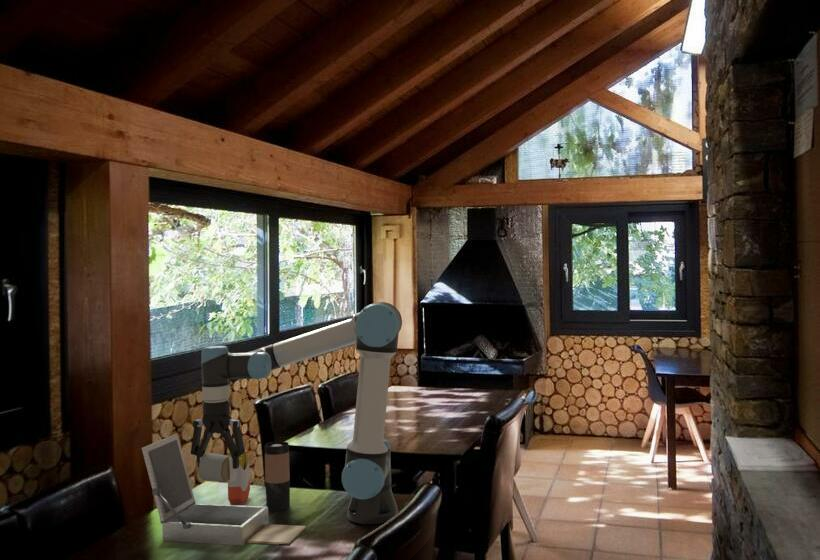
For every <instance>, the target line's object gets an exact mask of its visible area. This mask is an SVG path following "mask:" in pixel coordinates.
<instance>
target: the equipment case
mask: <svg viewBox="0 0 820 560" xmlns="http://www.w3.org/2000/svg"><path fill="white" fill-rule="evenodd" d="M180 442H181V441H180V440H179V436H178V433H176V434H172V435H170V436H168V437H166V438H165V437H164V438H163V439H160V440H157V441H155V442H153V443H151V444H148V445H146V446H143V447H141V451H142V455H143V459H144V463H145V466H146V470H147V473H148V479H149V481H150V486H151V489H152V491H151V492H152V496H154V501H155V505H156V508H157V512H158V515H159V520H160V521H159V522H160V524H161V527H162V541H163V542H179V543H195V544H197V543H199V544H214V545H229V546H231V545H232V546H244V545H246V544H247V543H248V540H249V539H250V538H251V537H252V536H254V535H255V534H256V533H257V532H258V531H260V530H261V529H262V528H263V527H264V526H265V525H267V524H269V510H268V507H267V506H264V505H263V506H262V505H261V506H259V505H242V504H215V503H196V499H195V495H194V492H193V488H192V484H191V481H190V476H189V474H188V470H187V465H186V462H185V458H184V453H183V451H182V446H181V444H180ZM203 521H204V522H203ZM193 522H194V523H193ZM200 522H203V523H200ZM221 522H224V523H223V524H222V523H221ZM219 523H220V524H219ZM225 523H226V524H225ZM233 524H234V525H233ZM239 524H240V525H239Z"/></svg>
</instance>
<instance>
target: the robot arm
mask: <svg viewBox="0 0 820 560" xmlns="http://www.w3.org/2000/svg"><path fill="white" fill-rule="evenodd" d="M402 326H403V318H402V314H401V312H400V311H399V310H398V308H397V307H396V306H394V305H393V304H391V303H389V302H384V301H383V302H382V301H380V302H379V301H378V302H373V303H371V304H368V305H365V306H364V307H363V308H362V309H361V310H360V311H359V312H357V313H353V315H352V316H351V317H350V318H348V319H346V320H342V321H340V322H336V323H333V324H329V325H328V326H324V327H321V328H318V329H315V330H312V331H311V330H310V331H309V332H306V333H302V334H300V335H297V336H294V337H291V338H288V339H285V340H284V339H283V340H281V341H278V342H275V343H273V344H269V345H266V346H262V347H259V348H256V349H253V350H252V351H248V352H230V351H229V347H228V346H226V345H212V346H211V345H210V346H205V347H203V348H202V349H201V355H200V356H201V357H200V359H201V361H200V366H201V391H202V392H201V394H202V398H201V399H202V401H203V402H202V414H203V417H202V419H201V418H198V419H195V420H193V421H192V426H193V434H192V439H191V440H192V441H191V447H190V455H193V456H196V462H197V468H198V469H199V463H200V460H201V458H202V457H203V455H204V454H206V453H205V452H207V448H208V446H209V443H210V442H211V441H210V440H211V438H212V435H213V434H218V435H221V437H222V439H223V440H224V442H225V445H226V448H227V449H228V451H230V454H231V456H232V457H231V458H229V468H230V481H234V480H235V479H237V472H236V469H237V468H238V467H239V456H240V455H242V454H244V453H245V450H246V448H245V445H244V440H243V436H242V431H241V423H242V421H241V420H240V419H232V418H231V414H230V413H231V401H230V400H229V398H231V397H230V380H260V379H267V378H269V377H270V375H271V372H272V371H274V370H277V369H280V368H284V367H286V366H290V365H292V364H296V363H298V362H299V363H300V362H303V361H305V360H308V359H311V358H315V357H318V356H322V355H324V354H327V353H331V352H333V351H336V350H339V349H343V348H346V347H349V346H352V345H355V350H356V352H357V353H358V355H359V356H360V359H359V369H358V370H359V371H358V380H357V382H358V383H357V391H356V402H355V411H354V413H355V415H354V423H353V424H354V425H353V433H352V434H353V436H352V439H351V440H352V441H350V442H349V443H348V444H347V445H346V453H345V461H344V462H345V463H344V467H343V469H342V471H341V484H342V486H343V489H344V490H345V492H346V493H347V494H348V495H349V496H350V499H349V504H348V507H347V513H346V514H347V520H349V521H350V522H352V523H356V524H361V525H380V524H385V523H386V522H385V521H387V520H389V519H390V518H391V517H393V516H394V515H396V514H397V513H399V509H398V505H397V501H396V499H395V497H394V494H393V491H392V469H391V468H392V465H391V451H392V448H391V443H390V441H389V440H388V439H384V438H385V428H386V427H385V425H386V415H387V405H388V404H387V403H388V393H389V384H390V383H389V381H390V371H391V362H392V358H393V357H394V356H395V355H396V354H397V353H398V346H399V345H398V344H399V343H398V342H399V333H400V331H401V330H402ZM203 426H204V427H205V430H204V432H203V437H202V439H201V436H202V431H203ZM229 426H230V427H231V428H232V434H231V429H230V428H229ZM232 435H233V436H232ZM199 478H200V477H199ZM199 480H200V481H203V480H202V479H201V478H200V479H199ZM384 522H385V523H384Z"/></svg>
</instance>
